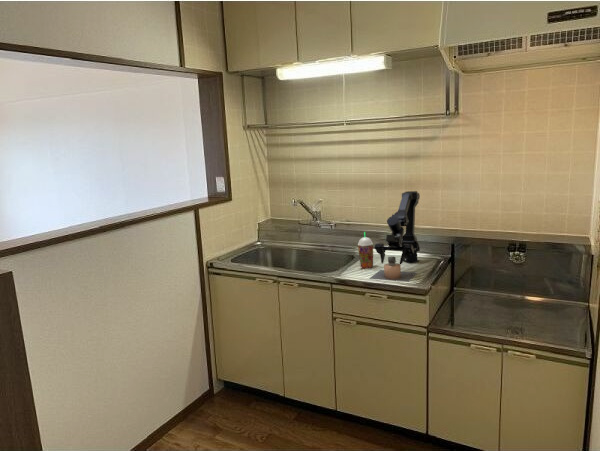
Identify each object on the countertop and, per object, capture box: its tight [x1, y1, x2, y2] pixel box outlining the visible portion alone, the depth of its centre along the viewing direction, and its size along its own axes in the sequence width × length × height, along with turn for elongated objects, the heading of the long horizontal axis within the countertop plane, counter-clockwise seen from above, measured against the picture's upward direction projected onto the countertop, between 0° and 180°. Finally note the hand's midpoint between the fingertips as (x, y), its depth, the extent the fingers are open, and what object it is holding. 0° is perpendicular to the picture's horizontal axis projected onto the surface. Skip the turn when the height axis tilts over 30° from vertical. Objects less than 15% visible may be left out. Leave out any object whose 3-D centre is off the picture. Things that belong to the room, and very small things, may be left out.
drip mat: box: [368, 269, 419, 282], centre depth 225 cm, size 20×16×1 cm
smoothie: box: [357, 231, 374, 270], centre depth 244 cm, size 8×8×20 cm
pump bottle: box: [383, 262, 402, 279], centre depth 222 cm, size 8×8×7 cm
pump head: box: [387, 256, 397, 264], centre depth 220 cm, size 6×4×4 cm, turn 151°
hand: (391, 263), depth 220 cm, fingers open, 9 cm apart
